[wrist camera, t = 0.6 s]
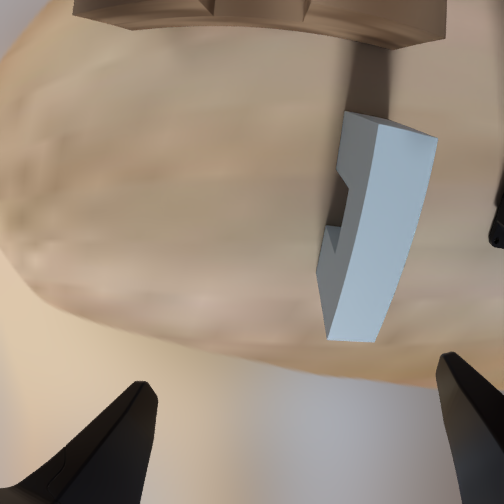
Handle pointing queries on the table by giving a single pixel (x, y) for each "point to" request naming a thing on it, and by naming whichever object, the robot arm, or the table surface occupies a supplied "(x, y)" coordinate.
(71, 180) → the table surface
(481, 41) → the table surface
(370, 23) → the notched wooden post
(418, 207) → the notched blue slab
